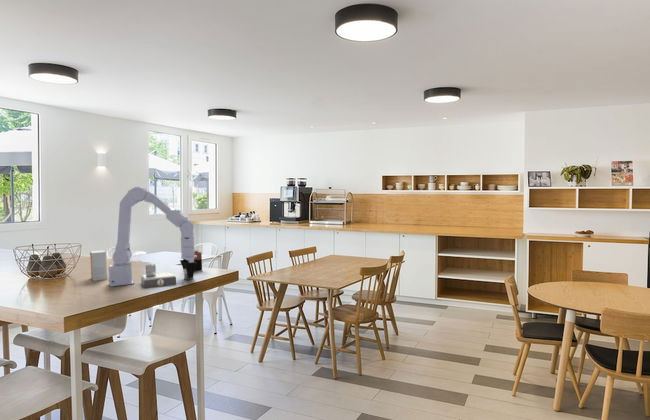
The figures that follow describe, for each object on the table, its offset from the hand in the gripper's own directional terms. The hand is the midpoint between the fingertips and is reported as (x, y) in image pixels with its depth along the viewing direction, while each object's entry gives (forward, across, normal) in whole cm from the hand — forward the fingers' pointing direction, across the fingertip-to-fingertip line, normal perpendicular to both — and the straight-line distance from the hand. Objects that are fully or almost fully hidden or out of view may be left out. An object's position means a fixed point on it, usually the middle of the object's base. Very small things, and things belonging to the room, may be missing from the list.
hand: (188, 276), depth 205 cm
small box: (+2, +27, +36) cm, 45 cm away
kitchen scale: (+1, -2, +14) cm, 14 cm away
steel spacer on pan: (-2, -2, +16) cm, 17 cm away
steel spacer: (+1, 0, 0) cm, 1 cm away
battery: (+2, +21, -7) cm, 22 cm away
